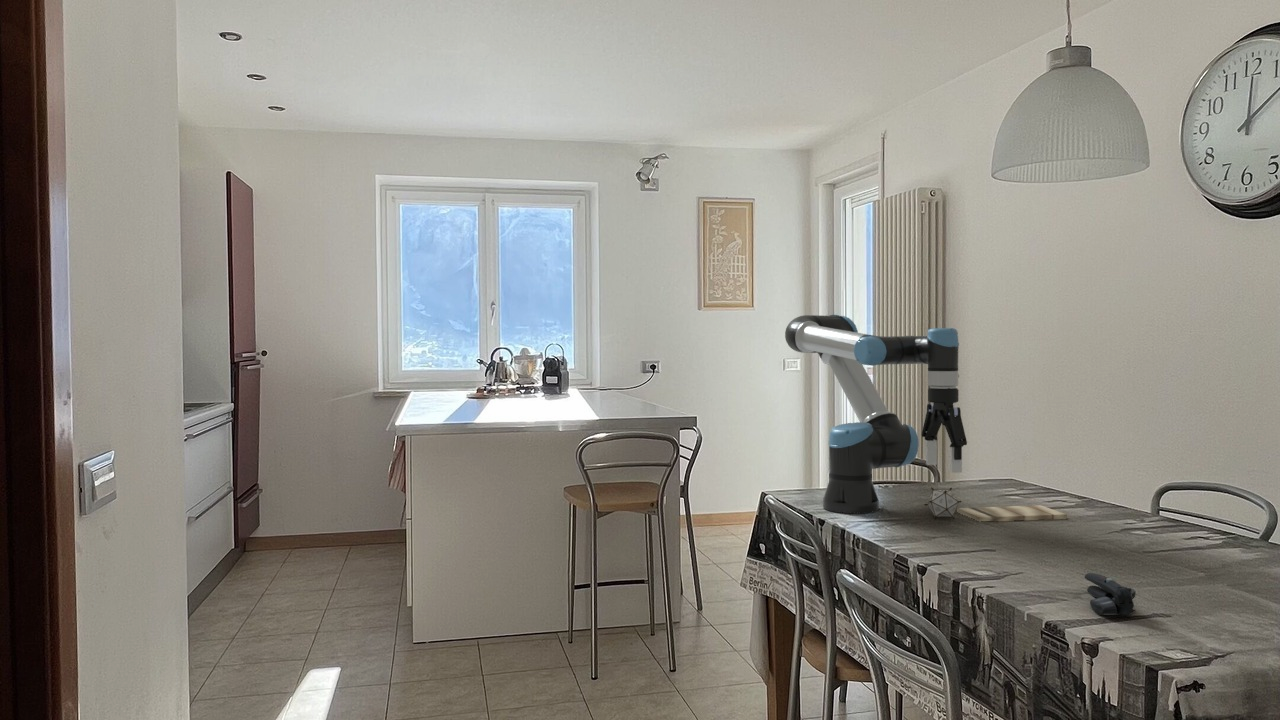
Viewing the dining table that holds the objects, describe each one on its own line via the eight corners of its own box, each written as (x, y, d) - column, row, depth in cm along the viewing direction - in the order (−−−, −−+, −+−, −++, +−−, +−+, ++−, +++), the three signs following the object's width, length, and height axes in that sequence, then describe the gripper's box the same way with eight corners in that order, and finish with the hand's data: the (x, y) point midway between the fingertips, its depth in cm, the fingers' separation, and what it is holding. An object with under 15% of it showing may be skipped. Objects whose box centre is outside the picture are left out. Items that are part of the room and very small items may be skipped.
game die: (934, 532, 228) (911, 499, 231) (957, 517, 231) (934, 485, 234) (951, 521, 220) (927, 488, 223) (975, 507, 223) (950, 474, 226)
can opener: (1144, 623, 146) (1144, 590, 145) (1098, 620, 147) (1098, 587, 147) (1111, 592, 163) (1111, 562, 163) (1071, 590, 164) (1071, 560, 164)
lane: (979, 522, 222) (979, 517, 222) (957, 512, 234) (957, 508, 234) (1067, 518, 225) (1067, 514, 225) (1040, 509, 237) (1040, 505, 237)
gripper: (981, 389, 214) (981, 475, 215) (934, 384, 239) (935, 461, 239) (952, 390, 213) (952, 476, 214) (908, 385, 238) (909, 462, 239)
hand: (943, 468), depth 227 cm, fingers open, 13 cm apart
